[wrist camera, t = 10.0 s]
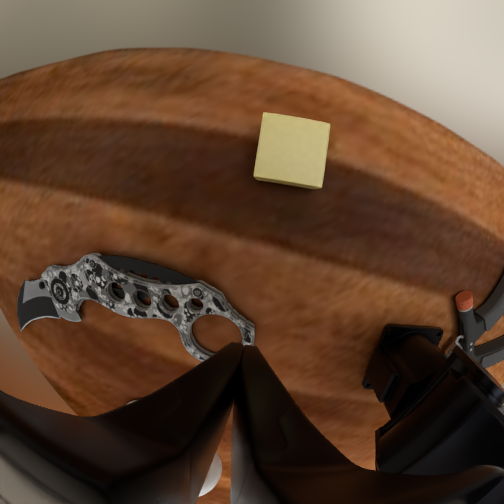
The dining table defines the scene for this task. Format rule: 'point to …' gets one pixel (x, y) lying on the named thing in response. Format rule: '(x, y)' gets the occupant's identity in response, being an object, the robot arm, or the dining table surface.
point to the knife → (126, 295)
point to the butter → (292, 151)
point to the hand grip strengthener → (480, 326)
